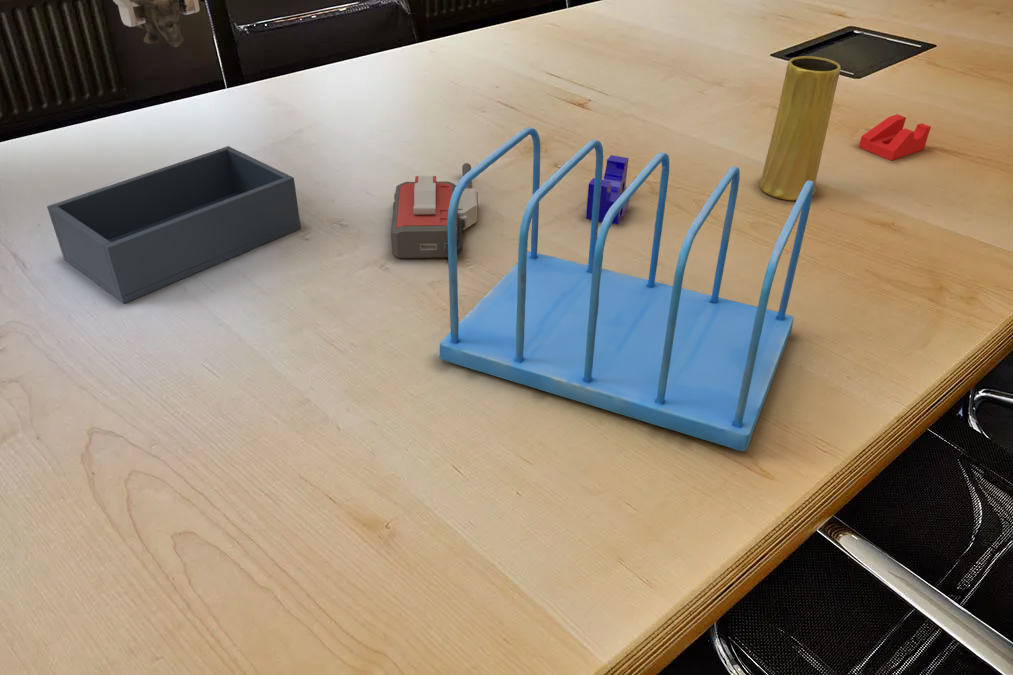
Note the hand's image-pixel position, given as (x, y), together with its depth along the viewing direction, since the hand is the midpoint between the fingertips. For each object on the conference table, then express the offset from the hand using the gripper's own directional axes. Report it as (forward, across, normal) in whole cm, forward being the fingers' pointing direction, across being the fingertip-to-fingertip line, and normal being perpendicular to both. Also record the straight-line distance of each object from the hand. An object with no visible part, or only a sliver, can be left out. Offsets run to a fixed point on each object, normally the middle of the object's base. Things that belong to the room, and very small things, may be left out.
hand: (161, 18), depth 82 cm
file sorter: (+19, -8, +50) cm, 54 cm away
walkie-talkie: (+19, -15, +22) cm, 32 cm away
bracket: (+19, -66, +50) cm, 85 cm away
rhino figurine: (+2, 0, 0) cm, 2 cm away
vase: (+19, -46, +46) cm, 68 cm away
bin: (+19, +6, +7) cm, 21 cm away
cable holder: (+19, -29, +34) cm, 49 cm away
